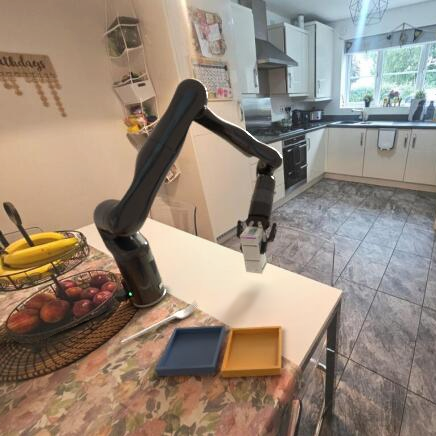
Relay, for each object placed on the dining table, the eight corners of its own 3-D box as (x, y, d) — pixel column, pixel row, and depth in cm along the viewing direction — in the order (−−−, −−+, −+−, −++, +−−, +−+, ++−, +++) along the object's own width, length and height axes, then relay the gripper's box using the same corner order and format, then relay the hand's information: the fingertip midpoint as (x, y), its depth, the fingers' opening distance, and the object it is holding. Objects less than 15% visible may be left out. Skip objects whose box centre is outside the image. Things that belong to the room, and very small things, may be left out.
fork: (121, 340, 64) (118, 335, 64) (196, 303, 75) (195, 299, 74) (122, 349, 62) (119, 344, 61) (200, 310, 73) (198, 305, 72)
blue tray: (157, 376, 55) (154, 369, 54) (177, 333, 66) (175, 327, 64) (215, 373, 56) (213, 366, 54) (226, 331, 66) (224, 325, 65)
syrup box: (262, 274, 80) (257, 235, 73) (245, 272, 81) (239, 234, 75) (267, 263, 85) (263, 226, 78) (251, 262, 86) (246, 225, 80)
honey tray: (222, 377, 55) (220, 371, 54) (232, 334, 65) (230, 328, 64) (281, 374, 55) (280, 368, 54) (281, 332, 65) (281, 325, 64)
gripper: (284, 209, 85) (276, 257, 80) (246, 207, 88) (236, 253, 83) (279, 201, 78) (270, 253, 73) (237, 199, 81) (226, 248, 76)
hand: (252, 252), depth 78 cm, fingers closed on syrup box, 6 cm apart
